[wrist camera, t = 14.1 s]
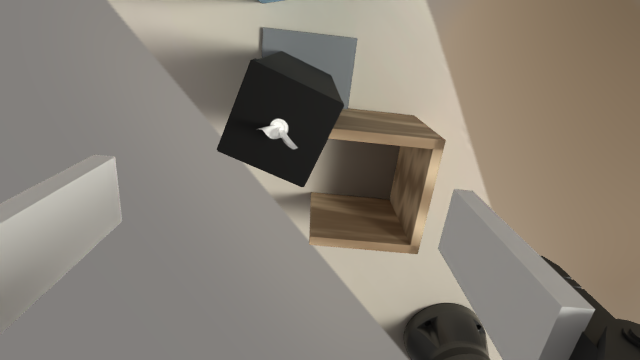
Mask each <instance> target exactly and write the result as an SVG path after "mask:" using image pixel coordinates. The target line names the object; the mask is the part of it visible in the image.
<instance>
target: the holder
mask: <svg viewBox="0 0 640 360" xmlns="http://www.w3.org/2000/svg"><path fill="white" fill-rule="evenodd" d="M329 139H338V140H348V141H358V142H368V143H377V144H387V145H397V146H400V150H399V155H398V160H397V165H396V170H395V175H394V180H393V185H392V190H391V195H390V200H387V199H377V198H366V197H356V196H345V195H335V194H324V193H314V192H311V207H310V238H309V244H310V245H319V246H330V247H342V248H353V249H365V250H376V251H388V252H399V253H410V254H418V250H419V246H420V242H421V238H422V234H423V230H424V226H425V222H426V218H427V214H428V210H429V206H430V202H431V198H432V194H433V190H434V186H435V182H436V177H437V173H438V169H439V165H440V161H441V157H442V153H443V149H444V145H445V141H446V140H445V139H443V138H442V137H441V136H440V135H438V134H437V133H436V132H434V131H433V130H432V129H431V128H429V127H428V126H427V125H426V124H424V123H423V122H422V121H420V120H419V119H418V118H417V117H415V116H413V115H404V114H394V113H385V112H376V111H366V110H357V109H342V111H341V113H340V115H339V117H338V119H337V121H336V123H335V125H334V127H333V129H332V132H331V134H330V136H329Z"/></svg>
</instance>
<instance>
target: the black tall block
mask: <svg viewBox="0 0 640 360" xmlns="http://www.w3.org/2000/svg"><path fill="white" fill-rule="evenodd" d="M343 107H344V103H343V101H342V100H341V98H340V95H339V93H338V90H337V88H336V86H335V83H334V81H333V78H332V76H331V75H330V74H328V73H326V72H324V71H322V70H320V69H318V68H315V67H313V66H311V65H309V64H307V63H305V62H303V61H301V60H299V59H297V58H295V57H293V56H291V55H289V54H287V53H285V52H283V51H280V52H277V53H275V54H272V55H269V56H266V57H263V58H261V59H258V60H257V59H253V60H251V61H250V63H249V66H248V69H247V71H246V74H245V77H244V79H243V82H242V84H241V87H240V90H239V92H238V95H237V98H236V100H235V103H234V105H233V108H232V111H231V113H230V116H229V119H228V121H227V124H226V126H225V129H224V132H223V134H222V137H221V140H220V143H219V145H218V147H217V150H218V151H219V152H221V153H223V154H226V155H228V156H230V157H233V158H235V159H237V160H240V161H242V162H244V163H247V164H249V165H251V166H254V167H256V168H258V169H261V170H263V171H265V172H268V173H270V174H272V175H275V176H277V177H279V178H282V179H284V180H286V181H289V182H291V183H293V184H296V185H298V186H300V187H304V186H305V184H306V182H307V180H308V178H309V176H310V174H311V172H312V170H313V168H314V166H315V164H316V162H317V160H318V158H319V156H320V154H321V152H322V150H323V148H324V146H325V144H326V142H327V140H328V138H329V136H330V134H331V132H332V129H333V127H334V125H335V123H336V121H337V119H338V117H339V115H340V113H341V111H342V109H343Z"/></svg>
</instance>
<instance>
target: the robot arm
mask: <svg viewBox="0 0 640 360" xmlns="http://www.w3.org/2000/svg"><path fill="white" fill-rule="evenodd" d="M121 221H122V216H121V206H120V197H119V188H118V179H117V170H116V162H115V157H113V156H102V155H93V156H91V157H89V158H87V159H85V160H83V161H81V162H79V163H77V164H75V165H73V166H72V167H70V168H68V169H66V170H64V171H62V172H60V173H58V174H56V175H54V176H52V177H50V178H48V179H47V180H44V181H43V182H41V183H39V184H37V185H35V186H33V187H31V188H29V189H27V190H25V191H23V192H21V193H20V194H18V195H16V196H14V197H12V198H10V199H8V200H6V201H4V202H2V203H0V335H1V334H2V333H3V332H4V331H5V330H6V329H7V328H8V327H9V326H10V325H12V323H14V322H15V321H16V320H17V319H18V318H19V317H20V316H21V315H22V314H23V313H24V312H25V311H26V310H28V308H30V307H31V306H32V305H33V304H34V303H35V302H36V301H37V300H38V299H39V298H40V297H41V296H43V295H44V294H45V293H46V292H47V291H48V290H49V289H50V288H51V287H52V286H53V285H54V284H55V283H56V282H57V281H59V280H60V279H61V278H62V277H63V276H64V275H65V274H66V273H67V272H68V271H69V270H70V269H71V268H73V267H74V266H75V265H76V264H77V263H78V262H79V261H80V260H81V259H82V258H83V257H84V256H85V255H86V254H87V253H88V252H90V251H91V250H92V249H93V248H94V247H95V246H96V245H97V244H98V243H99V242H100V241H101V240H102V239H103V238H105V236H107V235H108V234H109V233H110V232H111V231H112V230H113V229H114V228H115V227H116V226H117V225H118V224H119V223H121ZM438 249H439V251H440V253H441V254H442V256H443V258H444V260H445V261H446V263H447V265H448V266H449V268H450V270H451V272H452V273H453V275H454V277H455V278H456V280H457V282H458V284H459V285H460V287H461V289H462V291H463V292H464V294H465V296H466V297H467V299H468V301H469V303H470V304H471V306H472V308H473V309H474V311H475V313H476V314H475V313H474V312H473V311H471V310H470V309H468V308H466V307H464V306H461V305H458V304H449V303H447V304H438V305H434V306H430V307H428V308H426V309H424V310H422V311H420V312H419V313H417V314H416V315H415V316H414V317H413V318H412V319H411V320H410V321H409V323H408V324H407V326H406V328H405V332H404V343H405V346H406V349H407V352H408V355H409V357H410V358H411V360H490V358H489V353H488V347H487V340H486V333H485V330H486V332H487V333H488V335H489V337H490V339H491V340H492V342H493V344H494V345H495V347H496V349H497V351H498V352H499V354H500V356H501V357H502V359H503V360H640V324H637V323H634V322H631V321H627V320H621V319H615V318H614V317H613V316H612V315H611V314H610V313H609V312H608V311H607V310H606V309H604V308H603V307H602V306H601V305H600V304H599V303H598V302H597V301H596V300H595V299H594V298H593V297H592V296H591V295H589V294H588V293H587V292H586V291H585V290H584V289H581V286H580V285H579V284H578V283H577V282H576V281H574V280H571V277H570V276H569V275H568V274H567V273H566V272H565V271H564V270H563V269H562V268H560V266H558V265H556V264H554V263H553V262H552V261H550V260H548V259H547V258H545V257H543V256H540V255H538V254H537V253H536V252H535V251H534V250H533V249H532V248H531V247H530V246H529V245H528V244H527V243H526V242H525V241H524V240H523V239H522V238H521V237H520V236H519V235H518V234H517V233H516V232H515V231H514V230H513V229H512V228H511V227H509V225H507V224H506V223H505V222H504V221H503V220H502V219H501V218H500V217H499V216H498V215H497V214H496V213H495V212H494V211H493V210H492V209H491V208H490V207H489V206H488V205H487V204H486V203H485V202H484V201H483V200H482V199H481V198H480V197H479V196H478V195H476V194H475V193H474V192H473V191H469V190H458V189H454V191H453V194H452V198H451V202H450V206H449V209H448V213H447V217H446V221H445V224H444V228H443V232H442V236H441V239H440V243H439V247H438ZM477 316H478V317H477ZM480 321H481V322H480ZM481 323H482V324H481ZM484 328H485V330H484Z"/></svg>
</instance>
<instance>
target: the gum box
mask: <svg viewBox="0 0 640 360" xmlns="http://www.w3.org/2000/svg"><path fill="white" fill-rule="evenodd" d="M258 1H260V2H261V3H269V2H276V1H283V0H258Z"/></svg>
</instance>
